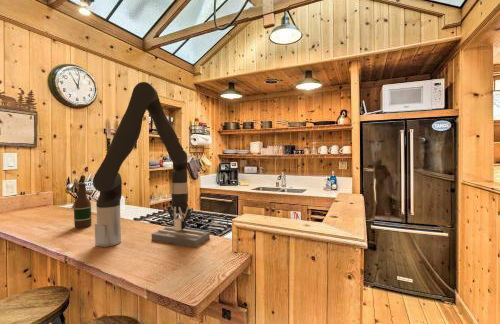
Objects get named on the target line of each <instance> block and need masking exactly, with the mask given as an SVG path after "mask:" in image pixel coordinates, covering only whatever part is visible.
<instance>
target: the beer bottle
mask: <svg viewBox="0 0 500 324" xmlns="http://www.w3.org/2000/svg"><path fill="white" fill-rule="evenodd" d="M77 186H78V191H77V198H76V200H75V202H74V203H73V217H74V219H73V223H74V225H73V226H74V229H77V230H78V229H82V230H83V229H86V228H90V227H91V226H92V202H91V201H90V199H89V198H88V197H87V189H86V188H87V187H86V186H87V183H85V182H80V183H77Z"/></svg>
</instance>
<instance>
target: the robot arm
mask: <svg viewBox="0 0 500 324" xmlns="http://www.w3.org/2000/svg"><path fill="white" fill-rule="evenodd" d="M146 111H147V112H148V113H149V116H150V117H151V119H152V121H153V124H154V126H155V129H156V132H157V135H158V136H159V138H160V140H161V142H162V143H163V145H164V146H165V149H166V152H167V153H168V156H169V158H170V160H171V162H172V172H171V187H170V188H171V205H168V206H167V207H166V209H167V211H168V214H169V217H170V219H171V220H172V219H173V220H174V219H176V218H178V217H181V220H182V221H181V229H186V228H187V221H188V220H190V219H191V216H192V215H193V211H194V208H193V207H190V206H189V203H188V202H189V184H188V154H187V151H185V150H184V148H183V147H182V145H181V143H180V140H179V138H178V135H177V133H176V132H175V130H174V127H173V126H172V124H171V122H170V120H169V118H168V117H167V115H166V114H165V111H164V109H163V107H162V104H161V101H160V97H159V95H158V91H157V89H155V87H154V86H153V85H152V84H151V83H149V82H148V81H147V82H146V81H141V82H140V81H139V82H138V83H137V84H136V85H135V86H134V87H133V89H132V93H131V96H130V98H129V102H128V106H127V108H126V110H125V112H124V114H123V115H122V118H121V121H120V123H119V124H118V126H117V128H116V130H115V133H114V135H113V137H112V140H111V142H110V144H109V147H108V150H107V152H106V154H105V157H104V159H103V160H102V162H101V164H100V166H99V167H98V169H97V170H96V172H95V174H94V176H93V179H92V186H93V188H94V189H95V190H96V191H97V192H99V196H98V198H97V199H96V206H95V207H96V223H95V224H94V244H95V247H101V248H107V247H112V246H116V245H118V244H120V243H121V242H122V228H121V227H122V226H121V200H122V192H123V190H122V188H123V186H122V185H123V182H122V176H121V173H119V171H120V169H121V166H122V165H123V163H124V161H126V159H127V158H128V157H129V156H130V154H131V153H132V152H133V150H134V148H135V146H136V145H137V143H138V139H139V137H140V135H141V131H142V126H143V119H144V116H145V113H146ZM185 227H186V228H185Z"/></svg>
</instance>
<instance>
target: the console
mask: <svg viewBox="0 0 500 324" xmlns="http://www.w3.org/2000/svg"><path fill="white" fill-rule="evenodd" d="M210 234H211V232H210V231H202V230H198V229H197V230H195V229H190V228H189V229H188V228H184V229H183V232H182V233H181V232H177V230H174V226H164V228H162V229H160V228H159V229H158V231H155V232H153V233H151V241H154V240H155V241H156V242H159V241H160V242H161V243H165V242H166V244H171V243H172V244H173V245H178V246H184V247H189V248H194V249H196V248H197V247H199V246H200V245H202V244H204V243H205V242H207V241H208V240H210V238H211V237H210V236H211V235H210ZM155 241H154V242H155Z"/></svg>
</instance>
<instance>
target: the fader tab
mask: <svg viewBox="0 0 500 324" xmlns="http://www.w3.org/2000/svg"><path fill="white" fill-rule="evenodd" d="M173 221H174V222H173V227H174V230H177V232H181V233H182V232H183V229H181V221H182V220H181V216H179V217H178V218H176V219H173ZM184 229H187V226H186V227H185V228H184Z"/></svg>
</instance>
